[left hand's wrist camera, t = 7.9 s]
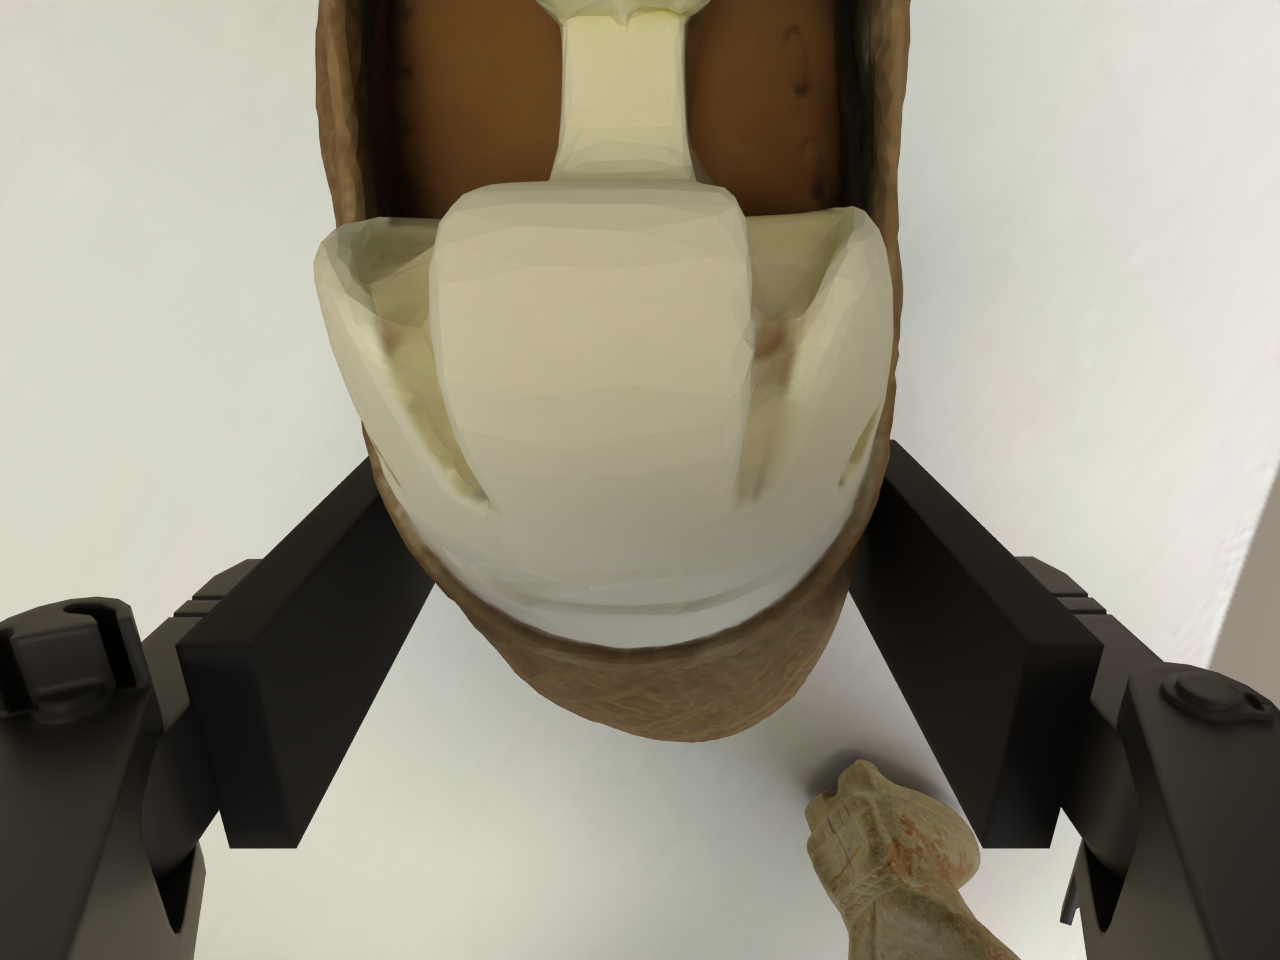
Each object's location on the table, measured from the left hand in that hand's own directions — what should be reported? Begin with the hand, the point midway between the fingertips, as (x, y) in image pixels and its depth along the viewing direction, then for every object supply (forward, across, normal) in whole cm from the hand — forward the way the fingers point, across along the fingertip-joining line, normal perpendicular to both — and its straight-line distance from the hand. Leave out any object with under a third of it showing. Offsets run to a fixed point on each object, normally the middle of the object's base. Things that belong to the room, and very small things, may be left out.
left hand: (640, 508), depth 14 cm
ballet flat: (+1, 0, -8) cm, 8 cm away
